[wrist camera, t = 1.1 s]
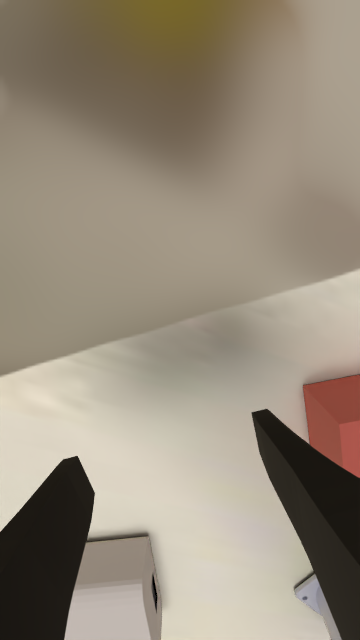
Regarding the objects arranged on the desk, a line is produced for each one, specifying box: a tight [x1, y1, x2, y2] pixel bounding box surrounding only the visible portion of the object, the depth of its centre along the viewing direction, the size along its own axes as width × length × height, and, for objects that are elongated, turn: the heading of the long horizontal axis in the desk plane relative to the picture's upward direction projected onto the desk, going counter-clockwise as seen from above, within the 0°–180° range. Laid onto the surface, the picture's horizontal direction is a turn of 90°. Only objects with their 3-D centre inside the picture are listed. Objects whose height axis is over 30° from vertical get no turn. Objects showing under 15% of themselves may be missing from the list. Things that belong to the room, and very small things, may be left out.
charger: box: [64, 536, 162, 640], centre depth 24 cm, size 5×9×15 cm
